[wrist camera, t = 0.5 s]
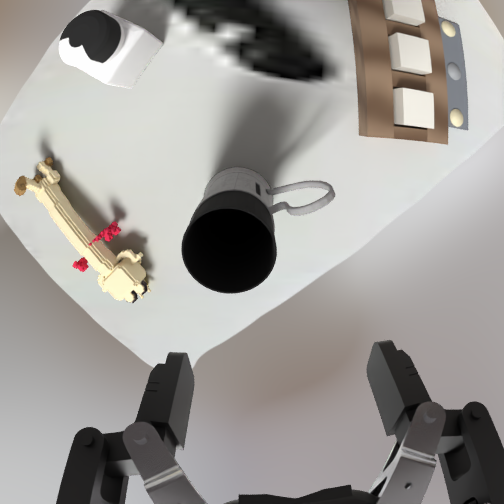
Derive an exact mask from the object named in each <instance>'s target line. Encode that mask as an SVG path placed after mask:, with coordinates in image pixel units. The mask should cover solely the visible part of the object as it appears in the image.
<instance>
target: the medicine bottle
mask: <svg viewBox="0 0 504 504" xmlns="http://www.w3.org/2000/svg"><path fill="white" fill-rule="evenodd" d="M162 45H163V43H162V42H161V41H160V40H159V39H158V38H156V37H155V36H154V35H152V34H151V33H150V32H148V31H147V30H146V29H145V28H143V27H141V26H138V25H136V24H134V23H132V22H130V21H128V20H125V19H123V18H121V17H119V16H116V15H114V14H112V13H109V12H107V11H104V10H101V11H99V10H90V11H86V12H84V13H82V14H80V15H78V16H77V17H76V18H74V19H73V20H72V21H71V22H70V23H69V24H68V25H67V27H66V28H65V29H64V31H63V33H62V35H61V38H60V42H59V54H60V57H61V59H62V60H63V61H64V62H65V63H66V64H68V65H72V66H75V67H77V68H79V69H81V70H82V71H84V72H86V73H88V74H89V75H91V76H93V77H95V78H96V79H98V80H100V81H102V82H103V83H105V84H108V85H114V86H119V87H124V88H129V89H131V88H133V86H134V85H135V83H136V82H137V80H138V79H139V77H140V76H141V74H142V73H143V71H144V70H145V69H146V67H147V66H148V64H149V63H150V62H151V60H152V59H153V57H154V56H155V55H156V53H157V52H158V51H159V49H160V48H161V47H162Z"/></svg>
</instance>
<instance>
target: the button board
mask: <svg viewBox="0 0 504 504" xmlns="http://www.w3.org/2000/svg"><path fill="white" fill-rule="evenodd" d="M421 3H422V7H423V12H424V17H425V22H424V23H422V24H420V25H418V26H415V27H414V26H410V25H406V24H402V23H398V22H394V21H389V20H385V14H384V8H383V2H382V0H348V4H349V11H350V18H351V25H352V33H353V42H354V52H355V62H356V75H357V90H358V112H359V135H361V136H366V137H380V138H393V139H405V140H415V141H424V142H432V143H440V144H447V145H448V95H447V79H446V68H445V58H444V50H443V43H442V36H441V30H440V25H439V19H438V14H437V10H436V5H435V1H434V0H421ZM395 33H402V34H406V35H410V36H414V37H418V38H422V39H426V40H428V42H429V49H430V58H431V68H432V73H429V74H423V75H417V74H412V73H407V72H401V71H395V70H391V59H390V50H389V41H388V37H389V36H391V35H393V34H395ZM397 88H408V89H414V90H419V91H424V92H429V93H433V96H434V129H432V128H424V127H417V126H408V125H400V124H394V104H393V89H397Z"/></svg>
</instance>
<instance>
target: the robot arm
mask: <svg viewBox="0 0 504 504" xmlns="http://www.w3.org/2000/svg"><path fill="white" fill-rule="evenodd" d="M367 377H368V380H369V383H370V386H371V389H372V392H373V395H374V398H375V401H376V403H377V406H378V410H379V413H380V416H381V419H382V422H383V425H384V428H385V431H386V435H387V436H390V435H394V434H395V435H396V438H397V440H396V441H395V443H394V445H393V448H392V450H391V452H390V454H389V456H388V458H387V460H386V463H385V465H384V466H383V468H382V470H381V472H380V474H379V476H378V478H377V479H376V480H375V482H374V483H373V485H372V486H371V488H370V490H369V492H364V491H360V490H352V489H351V485H346V486H340V487H335V488H328V489H323V490H321V491H318V492H315V493H312V494H309V495H306V496H303V497H300V498H287V497H280V496H274V495H268V494H262V495H239V499H238V500H234V501H230V502H227V503H225V504H421V502H422V500H423V497H424V495H425V493H426V490H427V488H428V485H429V483H430V480H431V478H432V475H433V472H434V470H435V467H436V460H435V459H434V456H435V454H438V456H439V460H440V463H441V467H442V471H443V474H444V478H445V482H446V486H447V490H448V494H449V499H450V503H451V504H504V448H503V446H502V443H501V440H500V438H499V436H498V433H497V431H496V429H495V426H494V424H493V421H492V419H491V417H490V415H489V412H488V410H487V409H486V407H485V406H484V405H483V404H481V403H479V402H470V403H468V404H467V405H466V406H465V407H464V408H463V409H462V410H446V409H444V408H443V407H442V406H441V405H440V404H438V403H436V402H432V400H431V399H430V397H429V395H428V392H427V390H426V388H425V386H424V384H423V382H422V380H421V378H420V376H419V375H418V372H417V370H416V368H415V367H414V364H413V362H412V360H411V358H410V356H408V355H407V354H406V353H405V352H404V351H403V350H397V349H396V347H395V346H394V343H393V342H392V341H391V340H387V341H380V342H375V343H374V345H373V347H372V351H371V355H370V358H369V361H368V365H367ZM193 391H194V375H193V372H192V368H191V365H190V361H189V358H188V354H187V353H177V352H169V354H168V356H167V359H166V363H165V364H157V365H156V366H155V368H154V369H153V370H152V371H151V373H150V376H149V379H148V384H147V385H146V388H145V392H144V395H143V398H142V401H141V404H140V408H139V411H138V414H137V418H136V420H135V422H134V423H133V424H131V425H129V426H128V427H127V428H126V429H125V430H124V431H122V432H116V433H107V434H102V433H101V432H100V431H99V430H98V429H96V428H93V427H87V428H84V429H81V430H80V431H79V432H78V433H77V434H76V435H75V437H74V440H73V443H72V446H71V450H70V453H69V456H68V460H67V463H66V467H65V470H64V474H63V478H62V482H61V485H60V490H59V494H58V498H57V502H56V504H125V498H126V492H127V485H128V479H129V476H132V475H141V477H142V479H143V481H144V483H145V484H144V486H145V489H146V491H147V493H148V494H149V496H150V498H151V499H152V501H153V502H154V504H207V502H206V501H205V500H204V498H203V497H202V496H201V495H200V494H199V492H198V491H197V489H196V488H195V487H194V486H193V484H192V483H191V481H190V480H189V479H188V477H187V476H186V475H185V473H184V472H183V470H182V469H181V467H180V466H179V464H178V463H177V461H176V460H175V458H174V457H175V451H176V449H179V450H184V444H185V438H186V432H187V426H188V420H189V414H190V408H191V402H192V397H193Z"/></svg>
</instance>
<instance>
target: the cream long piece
mask: <svg viewBox="0 0 504 504" xmlns="http://www.w3.org/2000/svg"><path fill="white" fill-rule="evenodd" d="M52 165H53V160H52V159H51V157H49V158H46V160H45V161H42V162H39V164H38V165H37V168H38V170H39V171H41V172H42V173H44V174H45V175H46V178H43V179H42V178H41V176H40V175H36V176H35V177H34V179H29V178H27V177H25V176H21V177H19V179H18V180H17V182H16V183H15V184H16V185H15V189H14V191H15V193H16V194H17V195H19V196H21V195H23V194H24V193H25V191H26V188H27V189H29V190H31V191H34V193H36V195H35V196H36V197H37V199H38V200H39V202H40V203H41V202H42V203H43V204H44V205H45V207H46V208H47V210H48V211H49V212H50V213H49V214H50V216H51V217H52V219H53V220H54V221H55V223H56V224H57V225H58V227H59V228H60V229H61V231H62V232H63V233H64V235H65V236H66V237H67V238H68V240H69V241H70V242H71V243H72V245H73V246H74V247H75V248H76V250H77V251H78V252H79V253H80V255H81V256H82V255H83V256H84V257H83V258H81V259H80V260H79V261H78V262H77V261H75V262H74V264H73V267H74V268H75V267H76V269H77V268H78V269H79V270H80V271H82V272H84V271H85V270H86V269H87V268H88V267H89V266H88V265H87V262H89V263H90V264H91V265H92V267H93V268H94V269H95V270H96V271H97V270H98V271H99V273H100V275H99V276H98V277H99V279H98V281H99V282H98V284H99V285H100V286H101V287H102V288H103V289H102V290H103V291H104V292H106V291H108V292H109V293H110V294H111V295H112V296H113V297H114V298H115V299H118V300H123V299H125V300H126V301H127V302H130V303H131V302H132V303H134V302H135V301H136V300H137V299H138V298H137V296H138V295H137V294H139V296H140V297H141V299H142V298H143V296H142V295H143V294H144V293H145V292H147V291H148V292H149V293H150V292H151V290H150V289H149V286H148V284H147V283H146V282H145V280H144V278H145V277H146V275H145V274H146V272H145V269H144V268H143V267H142V266H141V265H140V264H141V263H142V262H141V260H142V259H141V257H142V256H143V254H142V253H141V252H140V253H139V254H138V255H137V253H136V254H134V253H133V252H132V250H131V249H130V250H128V249H127V250H126V251H124V250H123V251H122V252H121V253H120V254H119V255H118V256H117V257H116V256H115V255H114V254H113V253H112V252H111V251H110V249H109V250H108V249H107V248H106V247H105V246H104V244H103V243H102V242H101V241H100V239H101V238H103V237H104V236H105V241H108V242H109V241H110V240H111V239H112V238H113V235H115V236H116V235H117V234H118V233H119V232H120V231H121V229H120V228H119V227H117V225H118V224H117V223H116V221H115V222H113V223H112V224H111V225H109V227H107V228H105V229H104V230H103V231H102V232H101V233H100V234H99V235H97V236H96V235H95V234H93V233H92V232H91V231H90V229H89V228H88V227H87V226H86V225H85V223H84V222H83V221H82V219H81V218H80V217H79V216H78V214H77V213H76V212H75V211H74V209H73V208H72V207H71V203H70V202H69V201H68V199H67V198H66V197H65V195H64V194H63V193H62V191H61V188H60V186H59V185H58V184H57V183H58V182H59V180H60V175H59V174H58V172H57V171H56V170H55V171H53V170H52V169H51V166H52ZM121 258H123V260H122V261H121V262H120V263H119V262H118V261H119V260H120V259H121ZM138 260H139V261H140V262H137V261H138Z"/></svg>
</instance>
